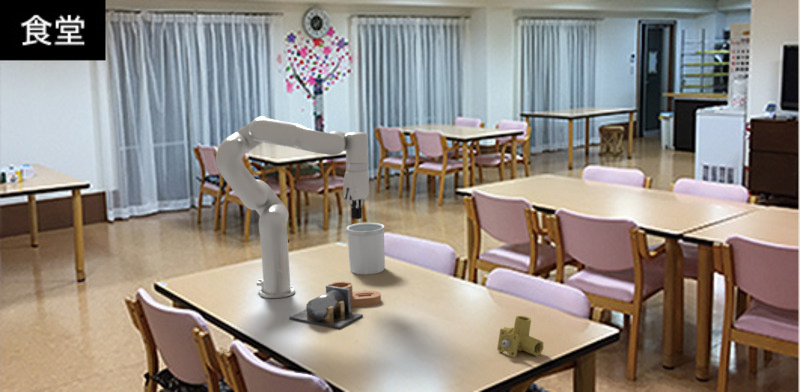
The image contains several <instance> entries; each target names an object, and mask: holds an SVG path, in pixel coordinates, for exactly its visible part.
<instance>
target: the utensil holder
mask: <svg viewBox="0 0 800 392" xmlns="http://www.w3.org/2000/svg"><path fill="white" fill-rule="evenodd" d="M385 230H386V229H385V224H382V223H378V222H359V223H358V222H357V223H353V224H350V225H349V224H348V226H346V234H347V245H348V258H349V260H348V261H349V270H350V272H351V273H352V274H357V275H374V274H379V273H381V272H383V271H385V267H386V264H385V263H386V259H385V255H386V252H385Z"/></svg>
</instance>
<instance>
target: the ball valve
mask: <svg viewBox="0 0 800 392" xmlns="http://www.w3.org/2000/svg"><path fill="white" fill-rule="evenodd" d="M531 323H532V318H530V317H528V316H526V315H516V316H515V320H514V326H513V327H506V326H504V327H503V328H500V330H499V336H498V341H497V348H496V349H497V351H498V352H499V353H504V352H507V354H508V355H509V356H510V357H511V358H517V355H518V351H519V352H525V353H528V354H530V355H533V356H534V357H538V356H540V355H541V354H542V352H543V350H544V342H543V341H542V340H540V339H537V338H535V337H533V336H531V335H530V330H531V325H532V324H531Z"/></svg>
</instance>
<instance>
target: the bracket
mask: <svg viewBox="0 0 800 392" xmlns="http://www.w3.org/2000/svg"><path fill="white" fill-rule="evenodd" d="M328 285H329V286H335V287H342V288H348V289H350V302H351V308H353V307H365V306H374V305H378V304H380V303H381V302H382V295H381V292H380V291H377V290H361V291H353V284H352V283H351V281H350V282H349V281H334V282H331V283H328Z"/></svg>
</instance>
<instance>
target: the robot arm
mask: <svg viewBox="0 0 800 392" xmlns="http://www.w3.org/2000/svg"><path fill="white" fill-rule="evenodd" d="M368 138H369V137H368V134H367V133H365V132H363V131H351V132H347V131H339V130H333V131H329V132H327V131H326V132H325V131H320V130H319V131H318V130H315V129H312V128H307V127H305V126H303V125H301V124H299V123H296V122H290V121H289V122H288V121H283V120H278V119H272V118H270V117H269V116H266V115H260V116H258V117H256V118H254V119H253V120H252V121H250V122H249V123H247V124H246V125H244V126H243V127H241V128H240V129H238V130H236V131H235V132H234V133H232V134H230V135H229V136H227V137H226V138H224V139H223V140H222V141H221V142H220V145H219V147H218V148H217V152H216V154H215V164H216V167H217V170H218V172H219V174H220V175H221V177H222V178H223V179H224V181H225V182H226V183H227V185H228V186H229V187H230V188H231V190H232V191H233V192H234V194H235V195H236V196H237V197H238V199H239V200H240V202H241V203H242V204H243V205H244V206H245V208H247V209H249V210H251V211H256V213H257V214H258V215H259V218H258V230H259V231H258V233H259V239H260V240H259V241H260V248H261V249H260V250H261V251H260V252H261V266H262V267H261V268H262V278H259V279H258V281H257V282H256V286H259V287H261V289H260V290H259V295H260V296H261V297H263V298H266V299H282V298H287V297H290V296H292V295H294V294H295V292H296V289H295V287H294V286H292V285H291V273H290V258H289V257H290V256H289V255H290V254H289V242H288V232H287V231H288V229H287V228H288V227H287V226H288V225H287V224H288V221H289V216H290V214H289V211H288V208H287V207H286V206H285V203H283V202H282V200H281V199H280V198H279V197H278V195H277V194H276V193H275V191H274V190H273V189H272V188H271V186H270V185H269V184H267V182H265V181H263V180H262V179H257V178H255V177H254V176H253V174H252V173H251V172H250V170H249V169H248V168H247V167H246V166H245V165H244V164H243V161H242V158H243V157H244V156H245V155H246V154H248V153H249V152H250V151H252V150H254V149H256V148H257V147H258V146H260V145H261V144H263V143H264V144H269V145H276V146H283V147H288V148H292V149H296V150H303V151H306V152H311V153H315V154H320V155H321V154H322V155H328V156H339V155H340V154H341V153H343V152H345V172H344V176H343V177H344V178H343V186H342V198H343V200H346V204H347V205H350V208H351V218H352V219H354V220H361V219H362V218H363V217H362V216H363V210H362V209H363V207H364V202H365V201H367V200H368V196H369V194H370V181H369V172H368V160H369V159H368V153H369V152H368V146H369V145H368V144H369V142H368V140H369V139H368Z"/></svg>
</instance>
